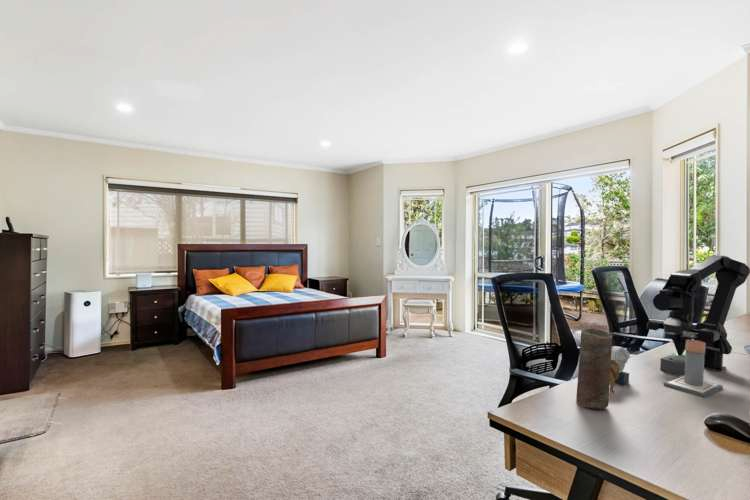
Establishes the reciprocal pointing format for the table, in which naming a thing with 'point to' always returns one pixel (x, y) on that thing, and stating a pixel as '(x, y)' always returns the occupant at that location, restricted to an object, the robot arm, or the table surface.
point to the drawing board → (697, 390)
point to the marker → (694, 362)
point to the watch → (621, 364)
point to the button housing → (672, 366)
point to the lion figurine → (613, 374)
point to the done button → (678, 357)
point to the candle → (594, 368)
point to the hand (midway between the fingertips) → (680, 354)
